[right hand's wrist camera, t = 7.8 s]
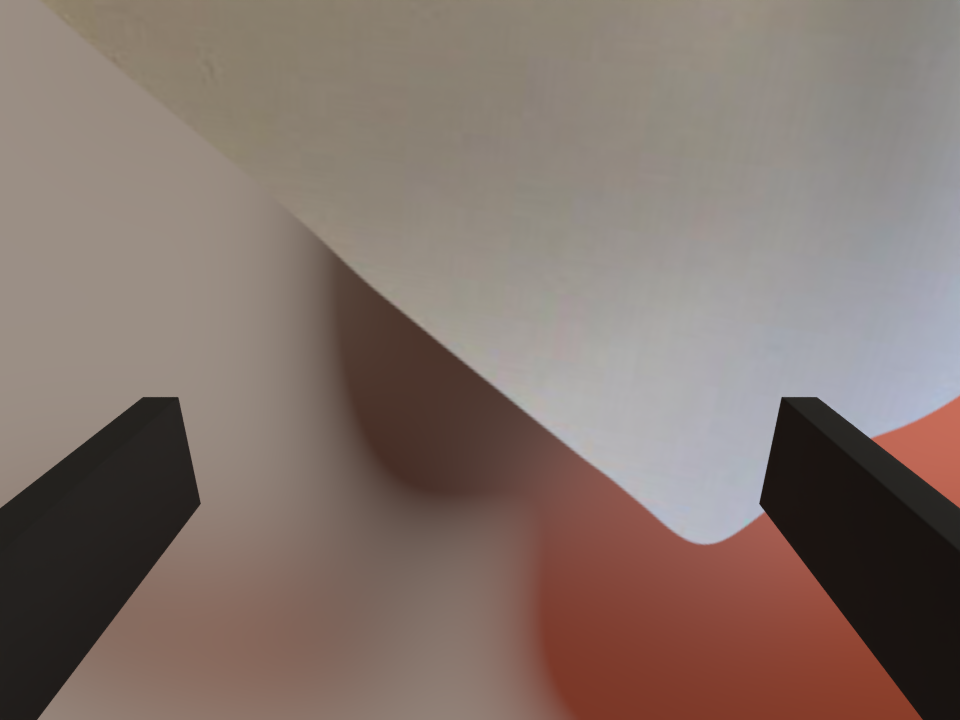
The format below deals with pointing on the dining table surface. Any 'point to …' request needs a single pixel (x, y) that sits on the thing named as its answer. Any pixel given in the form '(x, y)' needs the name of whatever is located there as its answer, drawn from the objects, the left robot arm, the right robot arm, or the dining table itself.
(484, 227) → the dining table surface
